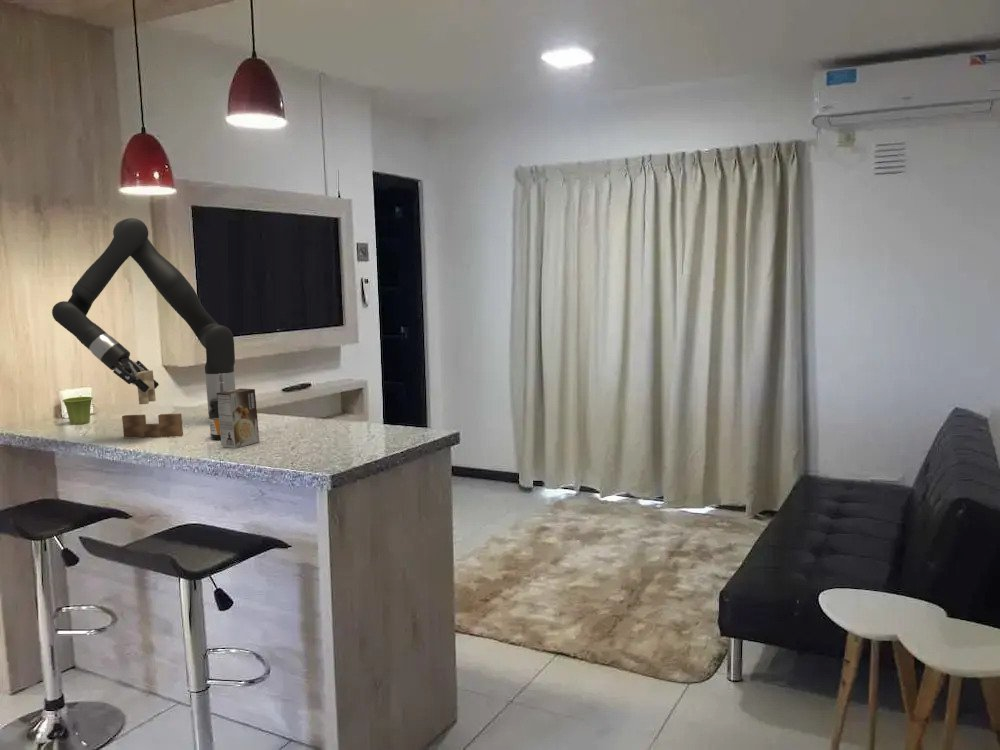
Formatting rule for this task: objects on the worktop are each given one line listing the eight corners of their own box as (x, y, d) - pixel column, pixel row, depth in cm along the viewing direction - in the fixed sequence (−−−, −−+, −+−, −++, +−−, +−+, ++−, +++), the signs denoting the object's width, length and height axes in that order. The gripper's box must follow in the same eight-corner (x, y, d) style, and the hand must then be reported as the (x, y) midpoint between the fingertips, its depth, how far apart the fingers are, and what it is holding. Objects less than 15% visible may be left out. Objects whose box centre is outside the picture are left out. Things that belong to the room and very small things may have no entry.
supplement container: (205, 441, 246) (202, 402, 244) (216, 434, 256) (213, 396, 255) (240, 440, 246) (237, 400, 245) (250, 433, 257) (247, 395, 255)
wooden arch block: (139, 404, 247) (136, 373, 246) (148, 401, 253) (145, 370, 252) (147, 404, 247) (143, 373, 246) (155, 400, 253) (152, 370, 252)
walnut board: (124, 438, 256) (121, 416, 255) (127, 436, 258) (125, 415, 257) (180, 436, 255) (178, 414, 254) (183, 435, 257) (181, 413, 256)
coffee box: (245, 440, 245) (241, 387, 243) (260, 442, 242) (256, 388, 240) (220, 446, 237) (215, 392, 235) (235, 448, 234) (230, 393, 232)
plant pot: (100, 421, 288) (98, 397, 287) (74, 426, 280) (72, 401, 279) (85, 419, 293) (82, 396, 292) (59, 424, 285) (56, 400, 284)
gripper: (105, 344, 241) (149, 383, 242) (128, 340, 255) (169, 376, 256) (89, 363, 241) (133, 401, 243) (113, 357, 256) (154, 393, 257)
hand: (151, 388), depth 249 cm, fingers closed on wooden arch block, 6 cm apart
